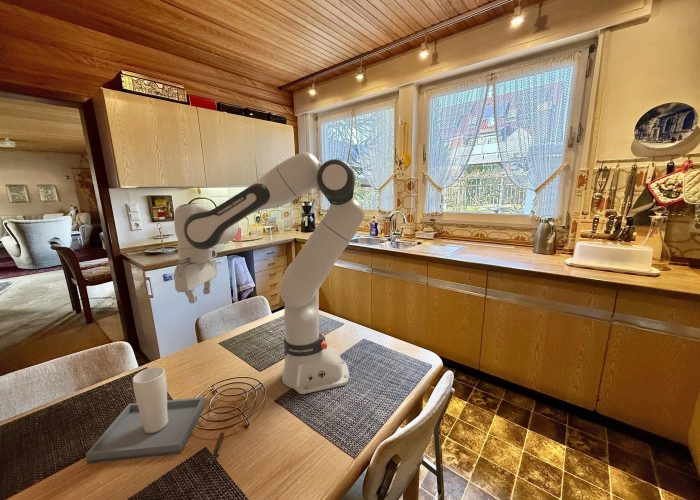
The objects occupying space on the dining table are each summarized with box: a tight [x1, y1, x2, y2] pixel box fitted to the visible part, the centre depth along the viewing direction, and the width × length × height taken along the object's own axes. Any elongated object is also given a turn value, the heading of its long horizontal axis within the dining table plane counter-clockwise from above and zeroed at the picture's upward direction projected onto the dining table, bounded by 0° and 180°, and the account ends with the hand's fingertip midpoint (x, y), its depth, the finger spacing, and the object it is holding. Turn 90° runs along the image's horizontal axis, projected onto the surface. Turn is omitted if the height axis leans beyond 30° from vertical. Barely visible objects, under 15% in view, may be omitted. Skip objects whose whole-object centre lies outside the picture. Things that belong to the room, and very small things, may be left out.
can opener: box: [209, 431, 225, 466], centre depth 68 cm, size 9×2×1 cm, turn 1°
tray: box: [84, 396, 206, 465], centre depth 74 cm, size 20×16×2 cm
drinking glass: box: [132, 366, 168, 433], centre depth 73 cm, size 7×7×15 cm
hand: (200, 297), depth 92 cm, fingers open, 8 cm apart
